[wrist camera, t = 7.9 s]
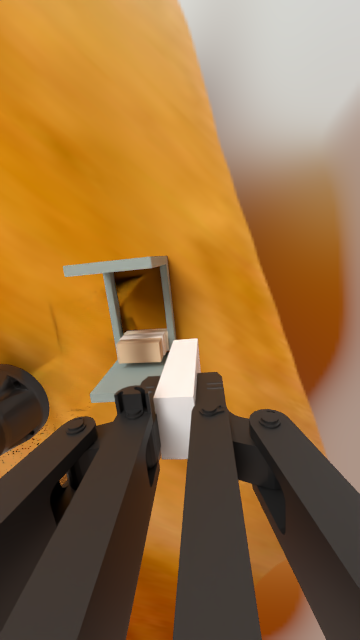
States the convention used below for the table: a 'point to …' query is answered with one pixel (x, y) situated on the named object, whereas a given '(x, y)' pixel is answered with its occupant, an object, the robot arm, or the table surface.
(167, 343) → the offcut low
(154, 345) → the offcut top
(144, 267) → the rack
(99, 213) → the table surface
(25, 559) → the robot arm
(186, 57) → the table surface
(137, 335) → the offcut mid
